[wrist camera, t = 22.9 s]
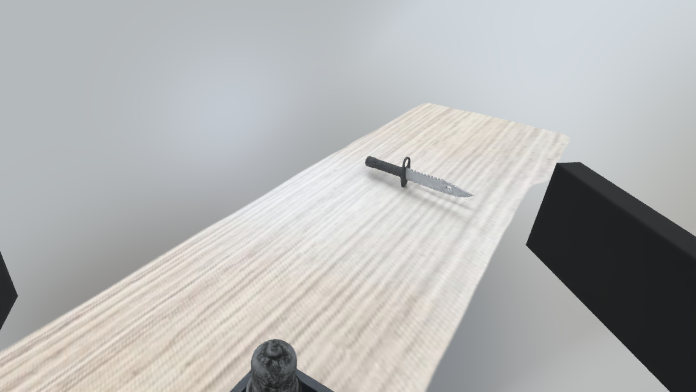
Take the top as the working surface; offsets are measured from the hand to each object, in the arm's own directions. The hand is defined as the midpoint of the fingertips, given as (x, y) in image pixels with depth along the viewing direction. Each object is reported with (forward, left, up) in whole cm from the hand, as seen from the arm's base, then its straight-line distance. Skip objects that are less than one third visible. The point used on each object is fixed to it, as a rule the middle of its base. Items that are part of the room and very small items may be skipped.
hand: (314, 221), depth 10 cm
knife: (+31, +44, -28) cm, 60 cm away
